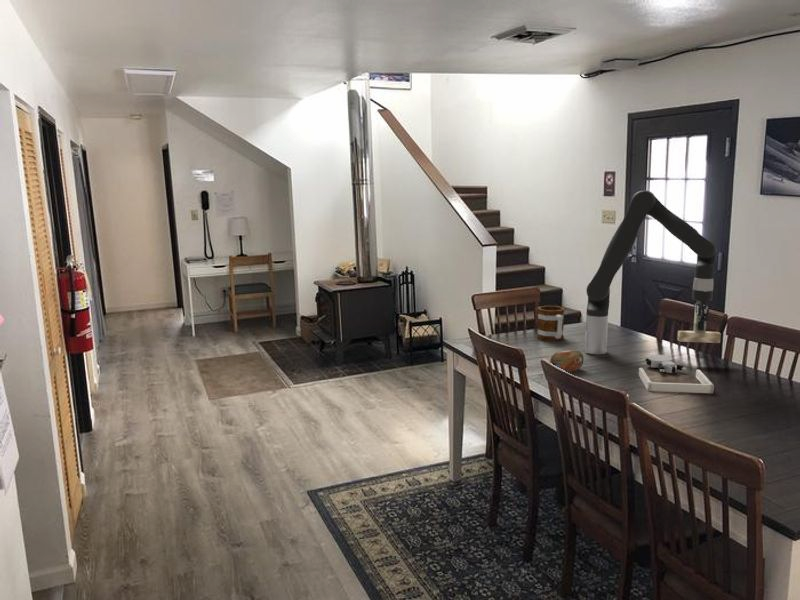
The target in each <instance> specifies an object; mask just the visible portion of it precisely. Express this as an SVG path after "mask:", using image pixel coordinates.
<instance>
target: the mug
mask: <svg viewBox="0 0 800 600" xmlns="http://www.w3.org/2000/svg"><path fill="white" fill-rule="evenodd" d="M537 312H538V313H537V336H536V337H537V340H539V341H543V342H561V341H564V337H565V336H564V326H565V319H564V316H565V315H564V314H565V307H564V306H559V305H543V306H538V307H537Z"/></svg>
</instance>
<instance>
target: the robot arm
mask: <svg viewBox="0 0 800 600" xmlns="http://www.w3.org/2000/svg"><path fill="white" fill-rule="evenodd" d="M647 216H650V217H651V218H653V219H654V220H655V221H657V222H658V223H660V225H662V226H663V227H664V229H666V230H667V231H668V232H669V233H670V234H672V236H674V237H675V238H676V239H677V240H679V241H680V242H682V243H683V244H685V245H686V246H687V247H688V248H689V249H690V250H691V251H693V252H694V254H696V255H697V256H696V264H695V268H694V278H693V283H692V284H693V285H692V293H691V294H692V297H691V299H692V300H693V301H696V302H694V303H693V307H694V308H693V310H694V311H693V312H694V315H695V313H697V315H698V330H700V331H703V330H704V322H705V321H706V322H707V321H708V316H709V313H710V309H709V305H708V302H711V301H713V292H714V275H715V274H714V273H715V260H716V255H717V254H716V253H717V245H716V243H715V242H714V240H711V239H707V238H705V237H704V236H703V235H701V234H700V233H699V231H698V230H696V229H695V228H694V227H693V226H692V225H690V223H688V222H686V221H685V220H684V219H682V218H681V217H679V216H678V215H677V214H675V213H673V212H672V211H670V209H668V208H667V207H666V206H665V205H664V204H663V203H662V202H661V201H660V200H659V199H658V198H657V197H656V196H655V194H654V192H652V191H650V190H639V191H637V192H636V193H634V194H633V196H632V197H631V200H630V202H629V204H628V209H627V211H626V213H625V215H624V217H623V219H622V221H621V222H620V224H619V226H618V227H617V229H616V231H615V232H614V234H613V236H612V238H611V240H610V242H609V244H608V246H607V247H606V250H605V251H604V252H605V253H604V255H603V257H602V260H601V262H600V265H599V268H598V269H597V271H596V273H595V274H594V276H593V277H592V279H591V280H590V282H589V283H588V285H587V287H586V295H587V306H586V318H585V331H584V351H585V353H586V354H590V355H604V354H607V353H608V352H607V350H608V329H609V328H608V327H609V326H608V323H609V309H610V293H611V288H610V287H611V284H612V282H613V280H614V277H616V274H617V273H618V271H619V270H620V268H621V267H622V266H623V264H624V263H625V261H626V259H627V258H628V256H629V254H630V253H631V251H632V249H633V247H634V244H635V242H636V238H637V236H638V233H639V230H640V226H642V223H643V222H644V220H645V218H646V217H647ZM700 313H701V314H700ZM694 315H693V316H694ZM702 317H703V318H702Z"/></svg>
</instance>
